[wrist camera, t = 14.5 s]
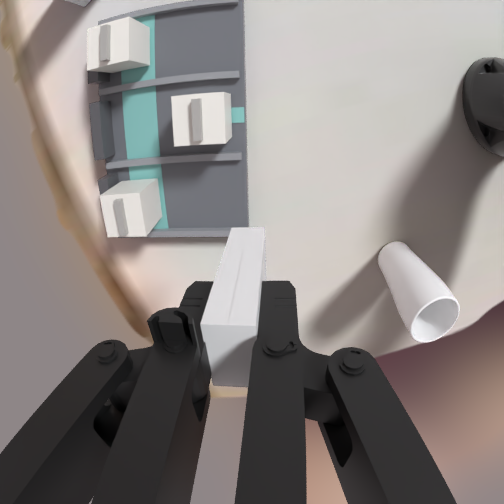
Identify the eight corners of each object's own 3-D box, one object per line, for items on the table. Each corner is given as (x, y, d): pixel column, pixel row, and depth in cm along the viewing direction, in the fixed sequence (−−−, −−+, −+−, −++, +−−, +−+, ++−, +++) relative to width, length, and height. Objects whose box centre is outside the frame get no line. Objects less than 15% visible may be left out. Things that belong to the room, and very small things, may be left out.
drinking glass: (363, 267, 43) (398, 337, 29) (386, 228, 40) (434, 288, 26) (397, 280, 43) (436, 347, 30) (420, 244, 40) (470, 304, 27)
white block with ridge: (230, 93, 30) (222, 91, 24) (232, 136, 33) (224, 144, 27) (186, 97, 30) (168, 96, 24) (188, 138, 33) (171, 147, 27)
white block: (149, 27, 26) (126, 14, 20) (150, 65, 29) (125, 59, 22) (112, 36, 26) (83, 27, 20) (112, 73, 29) (83, 70, 23)
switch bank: (243, 1, 27) (240, -13, 22) (248, 229, 40) (246, 246, 36) (106, 24, 27) (87, 17, 23) (124, 231, 41) (109, 246, 37)
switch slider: (157, 178, 35) (136, 195, 29) (162, 216, 37) (143, 239, 31) (121, 181, 35) (96, 198, 29) (127, 217, 38) (104, 240, 32)
